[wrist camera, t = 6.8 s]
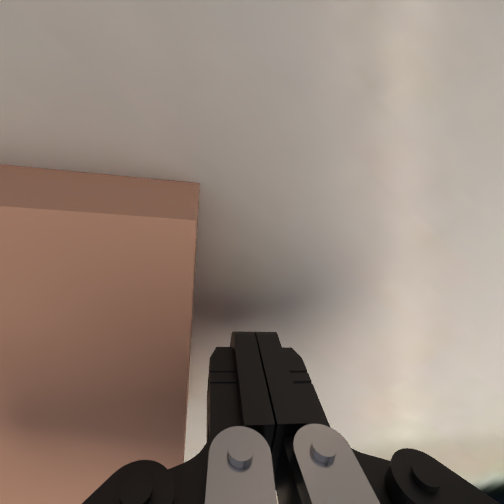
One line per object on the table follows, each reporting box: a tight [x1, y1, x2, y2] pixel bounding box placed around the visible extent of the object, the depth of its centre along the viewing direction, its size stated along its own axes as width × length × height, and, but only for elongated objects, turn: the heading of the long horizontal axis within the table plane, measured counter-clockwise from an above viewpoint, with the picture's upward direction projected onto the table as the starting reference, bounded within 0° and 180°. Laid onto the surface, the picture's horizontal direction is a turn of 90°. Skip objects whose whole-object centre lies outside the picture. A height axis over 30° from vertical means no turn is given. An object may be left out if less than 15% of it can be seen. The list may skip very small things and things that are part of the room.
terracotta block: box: [0, 164, 200, 504], centre depth 9 cm, size 10×8×5 cm
